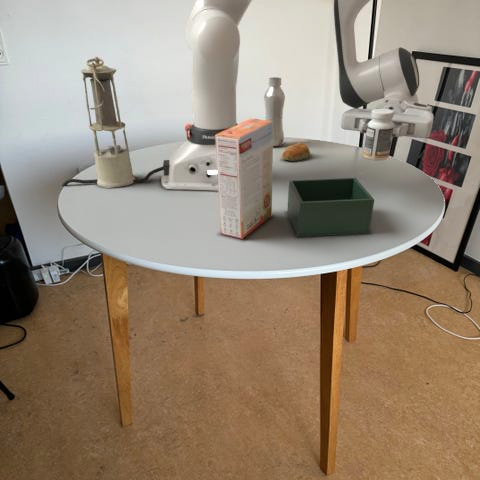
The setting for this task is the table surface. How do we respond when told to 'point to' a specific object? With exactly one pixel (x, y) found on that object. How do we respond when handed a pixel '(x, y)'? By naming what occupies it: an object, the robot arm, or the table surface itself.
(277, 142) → the plastic bottle
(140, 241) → the table surface
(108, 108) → the lamp
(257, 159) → the cracker box
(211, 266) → the table surface
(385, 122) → the pill bottle
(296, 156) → the pastry
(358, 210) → the bin
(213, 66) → the robot arm
